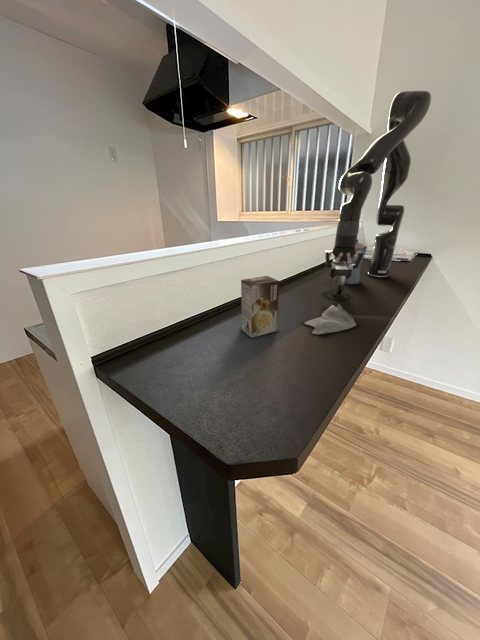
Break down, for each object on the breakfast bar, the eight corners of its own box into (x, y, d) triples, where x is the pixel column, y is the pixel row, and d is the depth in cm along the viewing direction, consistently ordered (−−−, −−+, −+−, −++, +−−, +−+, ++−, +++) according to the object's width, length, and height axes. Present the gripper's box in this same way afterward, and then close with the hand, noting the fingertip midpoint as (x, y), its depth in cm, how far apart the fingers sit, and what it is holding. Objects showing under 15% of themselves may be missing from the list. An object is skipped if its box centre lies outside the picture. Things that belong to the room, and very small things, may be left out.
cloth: (338, 342, 74) (339, 335, 73) (295, 327, 82) (296, 321, 81) (369, 314, 91) (370, 308, 90) (331, 304, 100) (332, 298, 99)
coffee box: (265, 323, 85) (268, 274, 78) (277, 331, 80) (280, 280, 73) (240, 329, 81) (240, 279, 74) (251, 338, 76) (251, 285, 69)
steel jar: (329, 291, 110) (333, 265, 105) (342, 292, 109) (346, 266, 105) (332, 297, 104) (336, 270, 99) (346, 298, 103) (351, 271, 98)
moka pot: (337, 286, 120) (344, 240, 111) (339, 277, 132) (345, 235, 124) (359, 288, 116) (369, 242, 108) (359, 279, 129) (367, 237, 121)
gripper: (364, 232, 100) (356, 276, 107) (325, 231, 102) (319, 274, 109) (370, 235, 93) (360, 281, 100) (328, 234, 95) (322, 279, 102)
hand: (339, 277), depth 104 cm, fingers closed on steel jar, 5 cm apart
